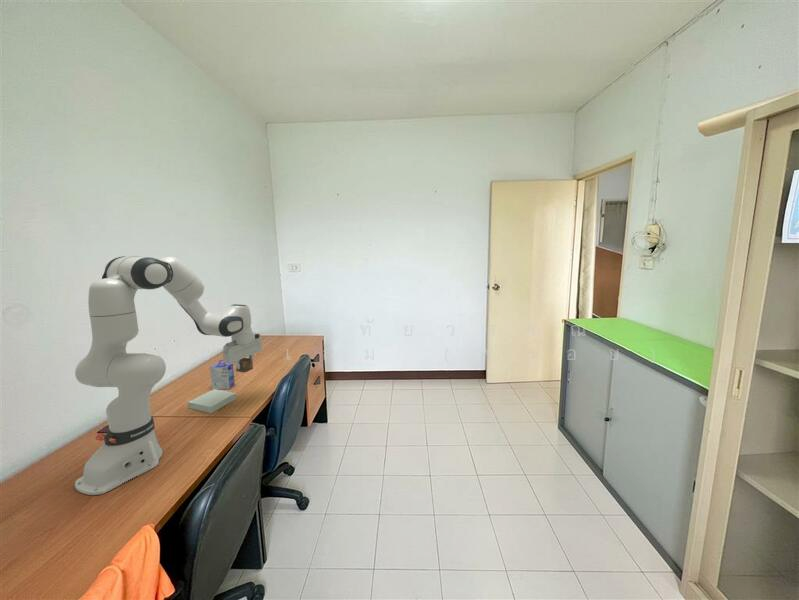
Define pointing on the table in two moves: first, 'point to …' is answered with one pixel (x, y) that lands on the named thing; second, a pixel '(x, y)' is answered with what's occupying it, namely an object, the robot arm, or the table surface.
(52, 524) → the table surface
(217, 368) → the ink cartridge box
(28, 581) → the table surface
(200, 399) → the base
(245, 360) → the walnut cube
